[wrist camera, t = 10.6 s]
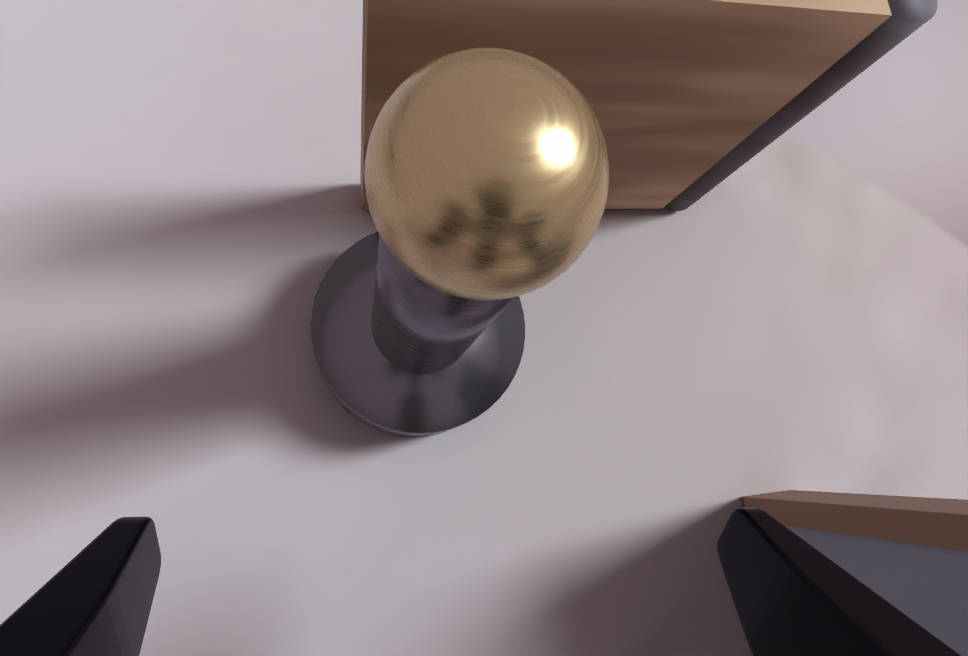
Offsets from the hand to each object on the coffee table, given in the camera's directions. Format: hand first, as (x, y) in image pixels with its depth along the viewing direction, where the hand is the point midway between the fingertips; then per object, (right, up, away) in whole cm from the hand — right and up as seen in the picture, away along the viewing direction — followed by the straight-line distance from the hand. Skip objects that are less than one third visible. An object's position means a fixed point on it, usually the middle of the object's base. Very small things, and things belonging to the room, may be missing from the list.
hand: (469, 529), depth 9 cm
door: (+2, +8, +12) cm, 15 cm away
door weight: (-2, +3, +10) cm, 11 cm away
